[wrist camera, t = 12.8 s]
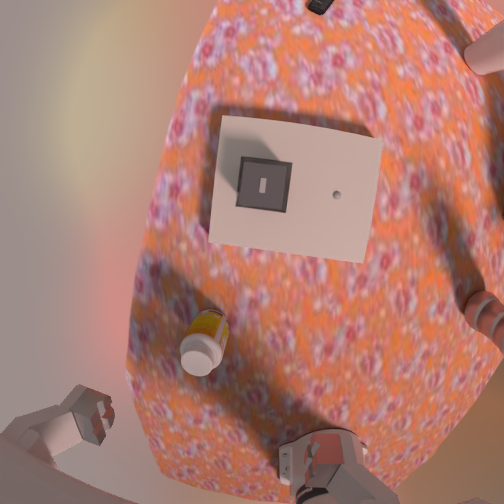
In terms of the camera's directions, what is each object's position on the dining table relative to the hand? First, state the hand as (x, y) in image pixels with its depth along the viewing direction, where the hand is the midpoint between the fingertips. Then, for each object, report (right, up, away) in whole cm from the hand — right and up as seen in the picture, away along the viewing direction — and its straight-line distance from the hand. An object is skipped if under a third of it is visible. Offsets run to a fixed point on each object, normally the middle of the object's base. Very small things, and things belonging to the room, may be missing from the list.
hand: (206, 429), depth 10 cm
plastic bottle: (+39, -2, +30) cm, 49 cm away
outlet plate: (+7, +15, +28) cm, 32 cm away
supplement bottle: (-4, -4, +34) cm, 34 cm away
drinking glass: (+37, +37, +20) cm, 56 cm away
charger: (+3, +15, +27) cm, 32 cm away
